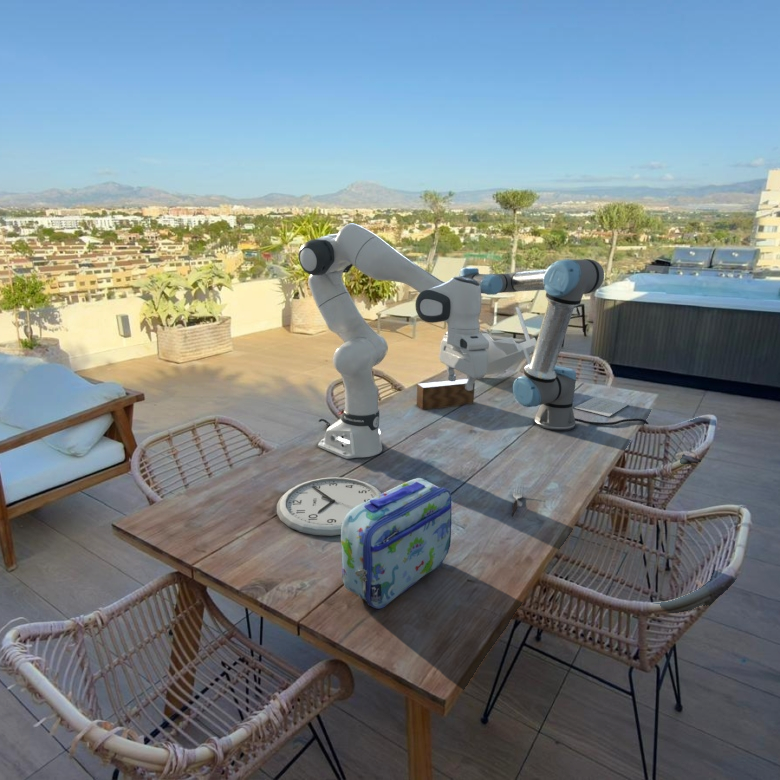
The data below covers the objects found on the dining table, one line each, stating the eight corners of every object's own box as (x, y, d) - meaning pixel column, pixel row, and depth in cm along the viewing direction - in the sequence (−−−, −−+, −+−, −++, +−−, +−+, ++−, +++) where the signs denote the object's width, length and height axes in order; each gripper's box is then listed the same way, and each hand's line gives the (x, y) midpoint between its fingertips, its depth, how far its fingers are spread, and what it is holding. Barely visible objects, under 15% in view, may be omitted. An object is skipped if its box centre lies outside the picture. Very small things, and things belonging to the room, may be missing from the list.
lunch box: (370, 622, 101) (370, 527, 94) (335, 595, 108) (333, 505, 102) (455, 565, 118) (460, 481, 112) (420, 544, 125) (423, 465, 119)
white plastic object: (486, 418, 267) (465, 395, 242) (467, 346, 289) (447, 318, 264) (556, 394, 255) (543, 367, 230) (531, 321, 277) (516, 289, 252)
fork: (506, 517, 138) (507, 510, 138) (514, 490, 152) (515, 483, 152) (516, 518, 137) (517, 512, 137) (523, 491, 152) (524, 485, 151)
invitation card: (608, 416, 214) (573, 407, 224) (608, 416, 214) (573, 408, 224) (628, 404, 229) (594, 396, 238) (628, 405, 229) (594, 397, 238)
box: (466, 399, 233) (467, 378, 230) (473, 403, 227) (474, 382, 224) (416, 405, 224) (417, 383, 221) (422, 409, 219) (423, 387, 216)
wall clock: (392, 527, 129) (268, 531, 127) (391, 533, 130) (269, 537, 127) (383, 473, 158) (282, 475, 155) (383, 478, 158) (282, 480, 156)
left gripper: (435, 331, 152) (433, 376, 156) (472, 345, 134) (469, 396, 138) (454, 329, 154) (451, 374, 158) (493, 343, 136) (489, 394, 141)
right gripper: (445, 302, 226) (444, 350, 232) (474, 310, 204) (471, 363, 210) (461, 302, 229) (459, 349, 235) (491, 309, 206) (488, 361, 212)
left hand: (460, 385), depth 148 cm, fingers open, 8 cm apart
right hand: (465, 356), depth 222 cm, fingers open, 13 cm apart
